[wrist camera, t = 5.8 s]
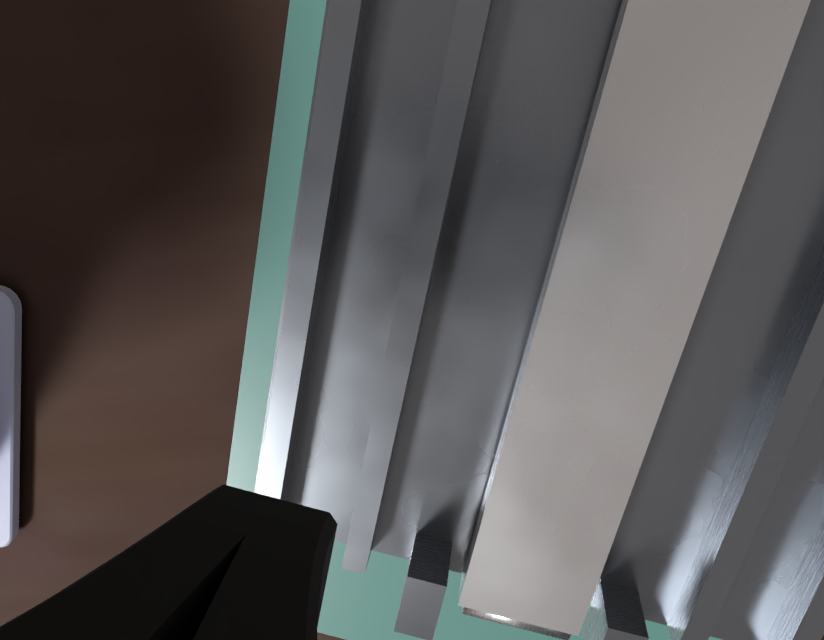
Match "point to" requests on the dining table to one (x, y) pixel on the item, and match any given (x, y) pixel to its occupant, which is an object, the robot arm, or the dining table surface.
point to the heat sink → (514, 312)
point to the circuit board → (345, 590)
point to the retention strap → (621, 295)
